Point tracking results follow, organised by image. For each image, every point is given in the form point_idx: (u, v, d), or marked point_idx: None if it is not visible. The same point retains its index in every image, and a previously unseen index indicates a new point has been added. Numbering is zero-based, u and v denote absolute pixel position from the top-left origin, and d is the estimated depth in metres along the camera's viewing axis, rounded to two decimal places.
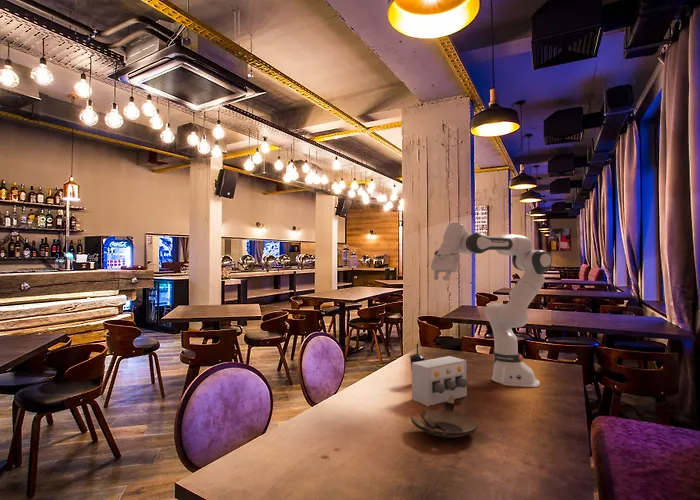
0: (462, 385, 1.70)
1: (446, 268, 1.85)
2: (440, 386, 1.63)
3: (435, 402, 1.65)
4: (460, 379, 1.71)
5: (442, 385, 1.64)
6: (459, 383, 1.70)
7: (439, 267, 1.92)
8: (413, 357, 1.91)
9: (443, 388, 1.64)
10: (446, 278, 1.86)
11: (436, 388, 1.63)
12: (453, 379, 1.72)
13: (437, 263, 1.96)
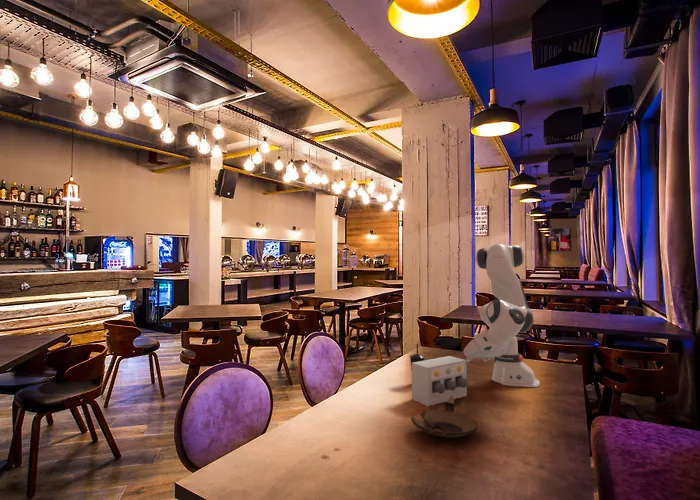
0: (462, 385, 1.70)
1: (496, 356, 1.63)
2: (440, 386, 1.63)
3: (435, 402, 1.65)
4: (460, 379, 1.71)
5: (442, 385, 1.64)
6: (459, 383, 1.70)
7: (484, 356, 1.59)
8: (413, 357, 1.91)
9: (443, 388, 1.64)
10: None
11: (436, 388, 1.63)
12: (453, 379, 1.72)
13: (481, 353, 1.56)
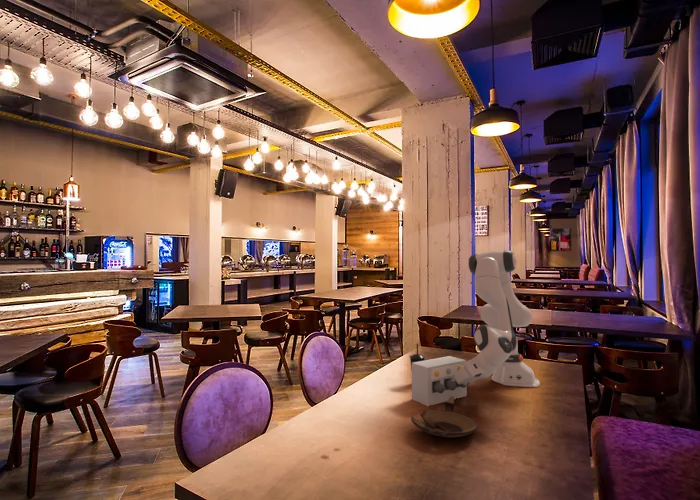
0: (462, 385, 1.70)
1: None
2: (440, 386, 1.63)
3: (435, 402, 1.65)
4: None
5: (442, 385, 1.64)
6: None
7: (473, 380, 1.65)
8: (413, 357, 1.91)
9: (443, 388, 1.64)
10: None
11: (436, 388, 1.63)
12: (453, 379, 1.72)
13: (471, 378, 1.62)
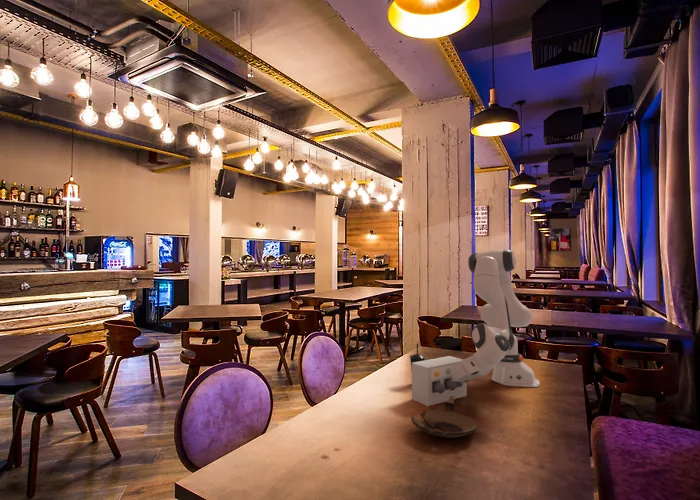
0: (457, 383, 1.73)
1: None
2: (440, 386, 1.63)
3: (435, 402, 1.65)
4: None
5: (442, 385, 1.64)
6: None
7: (471, 378, 1.66)
8: (413, 357, 1.91)
9: (443, 388, 1.64)
10: None
11: (436, 388, 1.63)
12: (453, 379, 1.72)
13: (468, 376, 1.63)
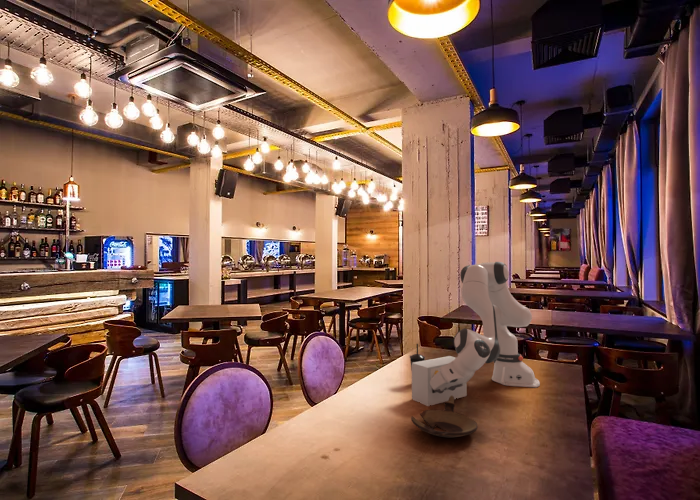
0: None
1: (461, 383, 1.62)
2: None
3: (435, 402, 1.65)
4: None
5: None
6: None
7: (450, 385, 1.58)
8: (413, 357, 1.91)
9: None
10: None
11: None
12: None
13: (447, 384, 1.55)
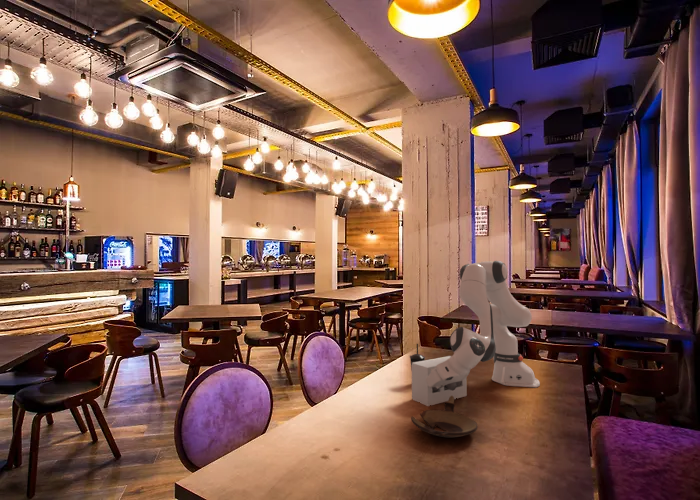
0: (457, 383, 1.73)
1: (457, 381, 1.64)
2: None
3: (435, 402, 1.65)
4: None
5: None
6: None
7: (446, 383, 1.60)
8: (413, 357, 1.91)
9: None
10: None
11: None
12: None
13: (443, 381, 1.57)
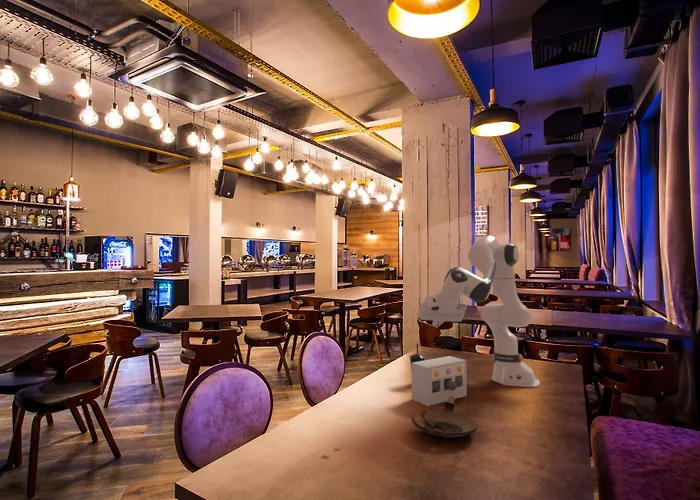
0: (457, 383, 1.73)
1: (454, 320, 1.69)
2: (435, 384, 1.65)
3: (435, 402, 1.65)
4: (455, 377, 1.74)
5: (437, 383, 1.66)
6: None
7: (439, 319, 1.67)
8: (413, 357, 1.91)
9: (438, 386, 1.66)
10: None
11: None
12: (453, 379, 1.72)
13: (433, 315, 1.65)
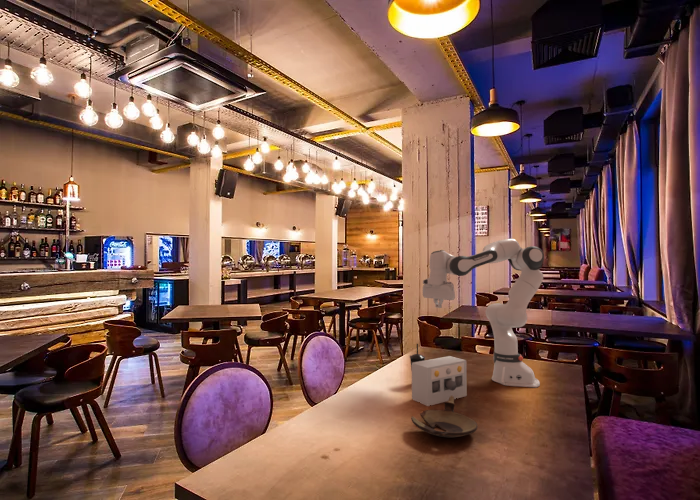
0: (457, 383, 1.73)
1: (444, 298, 1.97)
2: (435, 384, 1.65)
3: (435, 402, 1.65)
4: (455, 377, 1.74)
5: (437, 383, 1.66)
6: None
7: (434, 296, 2.03)
8: (413, 357, 1.91)
9: (438, 386, 1.66)
10: (440, 305, 2.02)
11: None
12: (453, 379, 1.72)
13: (430, 292, 2.06)
